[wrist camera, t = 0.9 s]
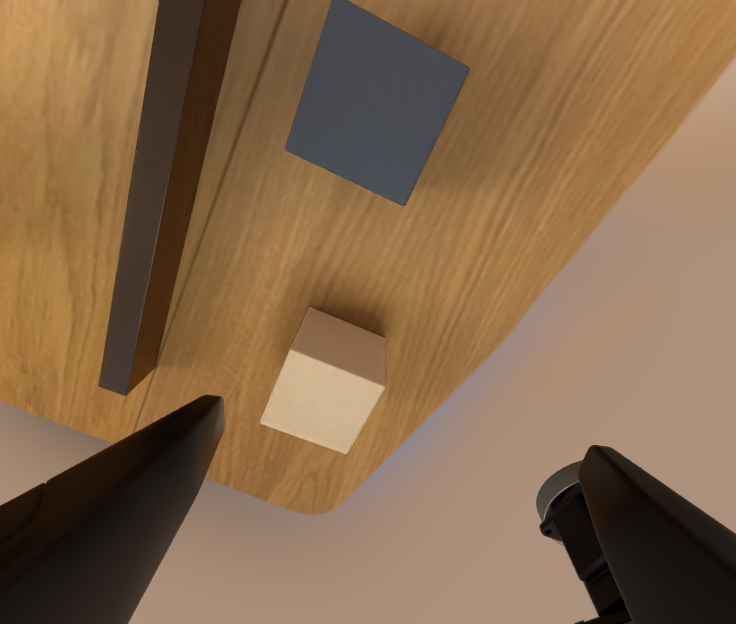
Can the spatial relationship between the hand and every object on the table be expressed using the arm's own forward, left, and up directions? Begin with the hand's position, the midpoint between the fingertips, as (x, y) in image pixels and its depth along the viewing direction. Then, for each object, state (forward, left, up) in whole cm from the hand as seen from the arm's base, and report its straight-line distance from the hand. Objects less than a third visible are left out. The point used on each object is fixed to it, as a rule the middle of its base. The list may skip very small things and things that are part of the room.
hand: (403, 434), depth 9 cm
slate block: (+4, -6, -13) cm, 15 cm away
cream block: (+1, +7, -13) cm, 14 cm away
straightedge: (+12, 0, -13) cm, 17 cm away
